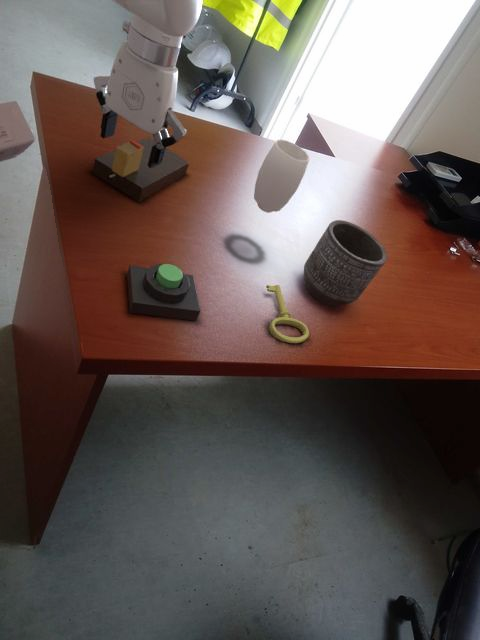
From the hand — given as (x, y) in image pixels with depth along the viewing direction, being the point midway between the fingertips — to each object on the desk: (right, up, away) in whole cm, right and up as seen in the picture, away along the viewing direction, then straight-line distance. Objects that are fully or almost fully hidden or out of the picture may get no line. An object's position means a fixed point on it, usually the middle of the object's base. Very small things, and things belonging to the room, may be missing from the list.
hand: (130, 150), depth 81 cm
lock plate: (-1, -1, +9) cm, 9 cm away
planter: (+35, -24, +9) cm, 44 cm away
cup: (+20, -16, +7) cm, 27 cm away
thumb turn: (-2, -2, +2) cm, 4 cm away
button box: (+8, -27, -11) cm, 30 cm away
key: (+27, -30, -2) cm, 40 cm away
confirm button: (+9, -25, -13) cm, 30 cm away
